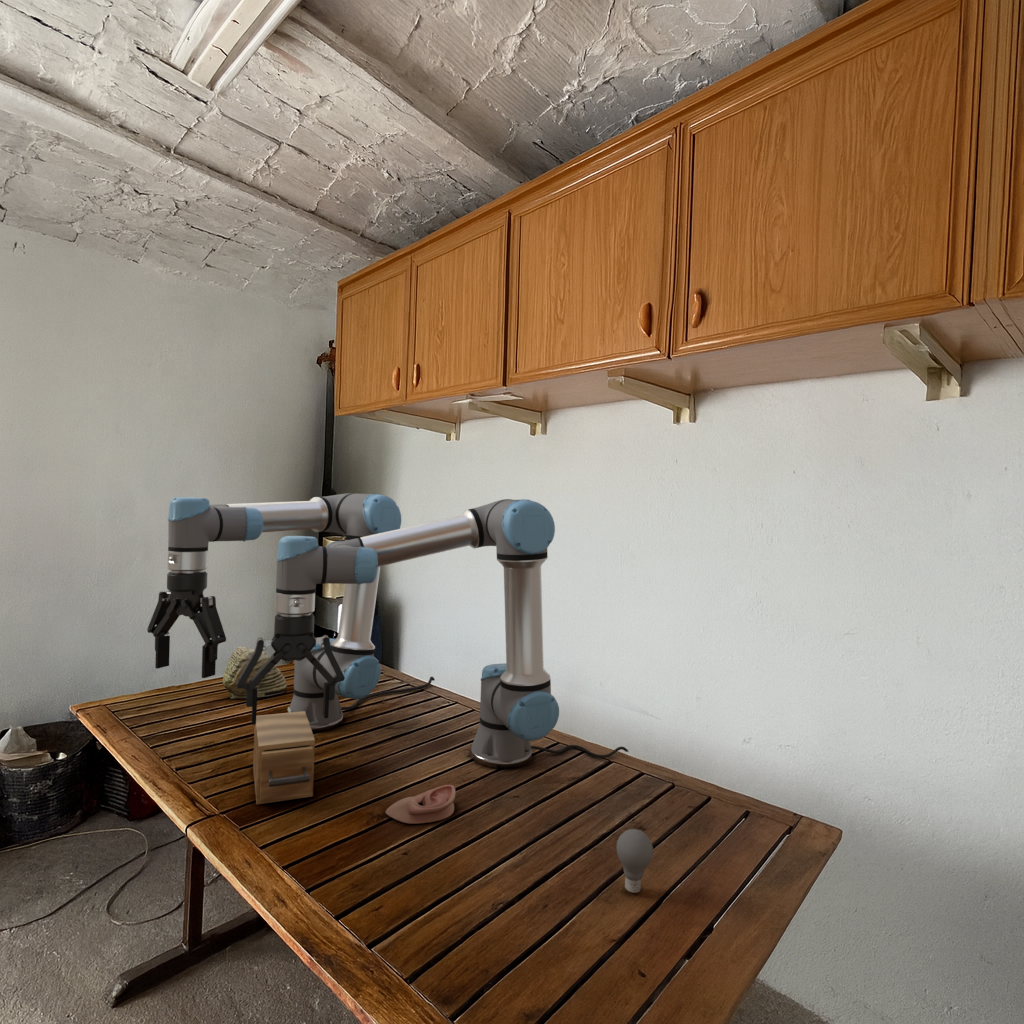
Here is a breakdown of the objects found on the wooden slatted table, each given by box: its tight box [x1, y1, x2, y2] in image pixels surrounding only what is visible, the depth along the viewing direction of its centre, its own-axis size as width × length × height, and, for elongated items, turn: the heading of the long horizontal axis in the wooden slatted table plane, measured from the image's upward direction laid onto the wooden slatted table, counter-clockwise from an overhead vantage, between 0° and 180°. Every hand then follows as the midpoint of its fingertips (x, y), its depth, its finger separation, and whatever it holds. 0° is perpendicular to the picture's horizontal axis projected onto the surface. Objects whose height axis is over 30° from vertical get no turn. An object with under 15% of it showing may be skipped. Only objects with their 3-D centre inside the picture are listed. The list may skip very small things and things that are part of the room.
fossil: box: [222, 646, 288, 699], centre depth 198 cm, size 9×18×15 cm, turn 132°
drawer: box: [260, 746, 313, 804], centre depth 135 cm, size 23×10×10 cm, turn 24°
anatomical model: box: [385, 784, 456, 825], centre depth 129 cm, size 13×4×12 cm
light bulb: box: [615, 828, 654, 894], centre depth 106 cm, size 6×6×10 cm
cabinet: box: [252, 711, 316, 805], centre depth 140 cm, size 19×11×12 cm, turn 24°
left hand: (184, 671), depth 133 cm, fingers open, 13 cm apart
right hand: (290, 719), depth 127 cm, fingers open, 13 cm apart
